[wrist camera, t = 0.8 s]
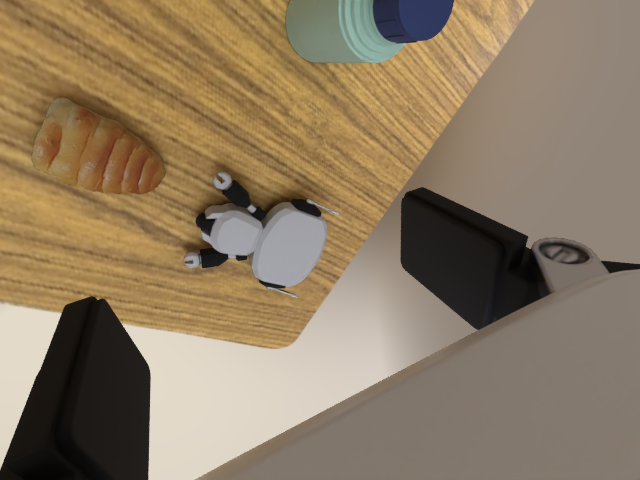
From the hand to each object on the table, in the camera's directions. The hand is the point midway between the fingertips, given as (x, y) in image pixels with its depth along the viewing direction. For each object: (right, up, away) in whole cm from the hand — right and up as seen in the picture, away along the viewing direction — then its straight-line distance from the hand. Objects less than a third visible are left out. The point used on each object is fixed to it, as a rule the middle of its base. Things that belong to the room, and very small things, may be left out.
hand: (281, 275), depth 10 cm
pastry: (-19, +9, +18) cm, 28 cm away
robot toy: (-6, +3, +29) cm, 29 cm away
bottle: (+1, +22, +21) cm, 30 cm away
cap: (+7, +15, +9) cm, 19 cm away
